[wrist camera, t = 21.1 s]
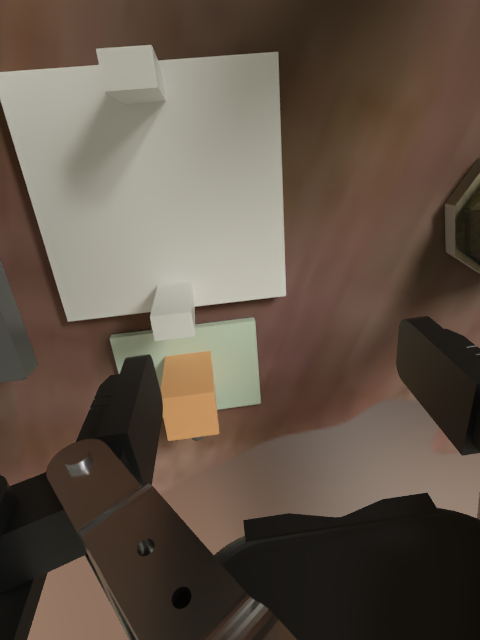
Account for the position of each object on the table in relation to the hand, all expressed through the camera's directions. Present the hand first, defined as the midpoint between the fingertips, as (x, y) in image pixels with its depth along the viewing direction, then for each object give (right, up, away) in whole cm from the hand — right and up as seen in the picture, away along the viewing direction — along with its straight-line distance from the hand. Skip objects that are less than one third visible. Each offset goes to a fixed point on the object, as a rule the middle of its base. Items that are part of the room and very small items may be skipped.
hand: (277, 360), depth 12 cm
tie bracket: (-8, +12, +20) cm, 24 cm away
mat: (-6, -4, +27) cm, 28 cm away
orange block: (-6, -5, +27) cm, 28 cm away
